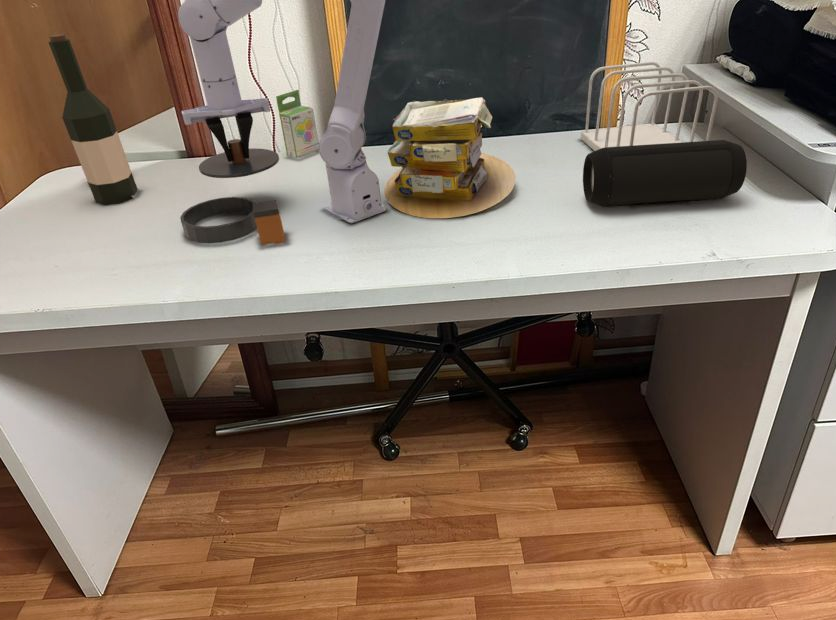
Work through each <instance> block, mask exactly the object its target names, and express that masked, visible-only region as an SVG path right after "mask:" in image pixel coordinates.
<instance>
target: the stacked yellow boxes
mask: <svg viewBox="0 0 836 620" xmlns="http://www.w3.org/2000/svg"><path fill="white" fill-rule="evenodd" d="M492 120H493V116H492V113H491V112H490V111H489V108H488V107H487V101H486V100H485V99H484V98H483V97H482V96H481V97H475V98H469V99H463V100H461V99H458V100H457V99H454V100H452V99H451V100H448V99H446V98H444V99H443V100H439V101H438V100H427V101H416V100H415V101H410V102H407V104H406V105H405V107H404V108H402V110H401V111H400V113H399V114H398V115H397V116H395V118H393V119H392V121H394V122H393V124H392V125H391V128H392V132H393V136H394V139H395V141H393V144H391V146H390V147H389V149H388V150H387V156H388V158H389V162H390V166H391V167H395V168H397V167H398V168H399V169H398V170H397V171H395V172H394V173H393V174H392V175H391V176H390V178H389V179H388V180H387V182H386V184H385V187H384V196H385V199H386V200H387V202H388V203H389V205H390V206H392V207H393V208H394V209H396V210H397V211H400V212H401V213H403V214H407V215H409V216H413V217H417V218H418V217H419V218H426V219H451V218H452V219H453V218H460V217H464V216H465V217H466V216H468V215H472V214H475V213H479V212H483V211H484V210H487V209H490V208H492V207H493V206H495V205H497V204H499V203H500V202H502V201H503V200H504V199H505V198H507V197H508V196H509V195H510V193H511V192H512V191H513V189H514V188H515V185H516V174H515V173H516V172H515V171H514V169H513V168H512V167H511V165H510V164H509V163H507V162H506V161H505V160H503V159H501V158H500V157H496V156H494V155H491V154H488V153H483V152H482V151H481V148H482V147H483V137H482V136H483V133H482V131H481V128H482V126H483V127H485V128H487V129H491V128H492V126H491V123H492Z"/></svg>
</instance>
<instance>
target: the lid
mask: <svg viewBox="0 0 836 620" xmlns="http://www.w3.org/2000/svg"><path fill="white" fill-rule="evenodd" d="M227 144H228V147H229V150H230V153H231V156H232V161H231V162H228V160H227V157H226V154H225V152H221V153H217V154H215V155H212V156H210V157H208V158H206V159H204V160H203V161H201V163H200V164H199V165H198V171H199V173H200V174H201V175H203V176H205V177H208V178H214V179H215V178H216V179H232V178H233V179H234V178H243V177H249V176H252V175H255V174H259V173H262V172H265V171H267V170H269V169H272V168H273V167H275V166H276V165H277V164H278V163H279V161H280V156H279V153H278V152H276V151H274V150H271V149H267V148H255V147H254V148H249V158H247V159H246V158H245V155H244V150H243V146H242V142H241V138H234V139H230V140H228V141H227Z"/></svg>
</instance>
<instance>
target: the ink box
mask: <svg viewBox="0 0 836 620" xmlns="http://www.w3.org/2000/svg"><path fill="white" fill-rule="evenodd" d="M275 98H276V105H277V109H278V116H279V119H280V126H281V131H282V136H283V141H284V147H285V152H286V156H287V157H292V158H295V159H300V158H302V157H305V156H307V155H310V154H312V153H315V152H317V151H319V142H320V139H319V134H318V129H317V124H316V118H315V112H314V108H313V107H311V106H305V105H302V104H301V103H302V102H301V97H300V91H299V89H296V90H293V91H289V92H286V93H282V94H279V95H276V96H275ZM288 98H294V100H291V101H288V102H286V103H283V102H284V101H285V100H287V99H288Z"/></svg>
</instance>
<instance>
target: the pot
mask: <svg viewBox="0 0 836 620" xmlns="http://www.w3.org/2000/svg"><path fill="white" fill-rule="evenodd" d="M253 203H257V202H256V201H255V200H252V199H251V198H247V197H243V196H242V197H241V196H227V197H219V198H213V199H208V200H205V201H202V202H199V203H196V204H194V205H192V206H189V208H187V209H186V210H184V211H183V212H182V213H181V215H180V219H179V220H180V223H181V226H182V230H183V233H184V236H185V238H187V240H189V241H192V242H195V243H199V244H218V243H225V242H230V241H236V240H238V239H240V238H243V237H246V236H248V235H250V234H252V233H254V232H255V231H256V230H257V225H256V221H255V217H254V213H253ZM224 214H247V215H246V216H244V217H242V218H240V219H237V220H235V221H232V222H229V223H224V224H219V225H207V226H206V225H205V226H204V225H196V224H197V223H199V222H201V221H203V220H205V219H209V218H211V217H212V218H213V217H215V216H219V215H224Z"/></svg>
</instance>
